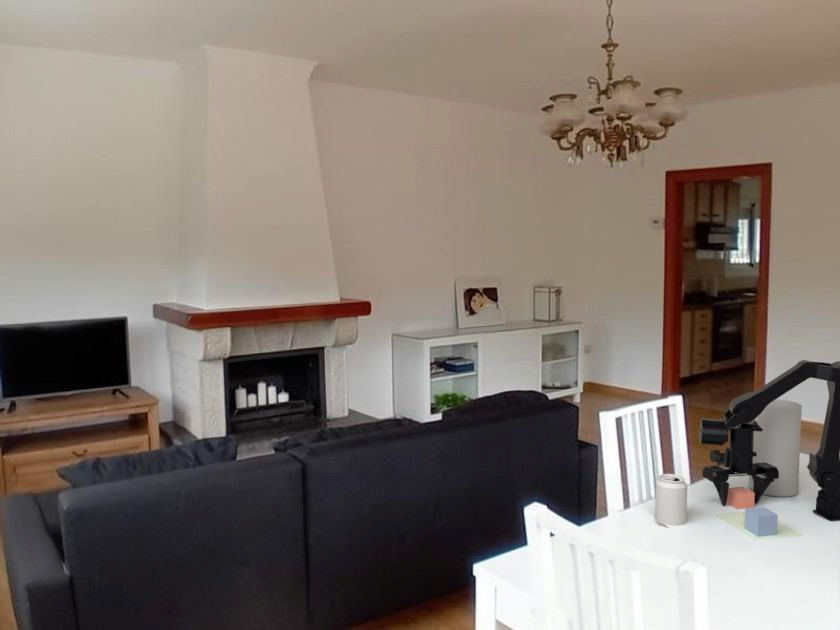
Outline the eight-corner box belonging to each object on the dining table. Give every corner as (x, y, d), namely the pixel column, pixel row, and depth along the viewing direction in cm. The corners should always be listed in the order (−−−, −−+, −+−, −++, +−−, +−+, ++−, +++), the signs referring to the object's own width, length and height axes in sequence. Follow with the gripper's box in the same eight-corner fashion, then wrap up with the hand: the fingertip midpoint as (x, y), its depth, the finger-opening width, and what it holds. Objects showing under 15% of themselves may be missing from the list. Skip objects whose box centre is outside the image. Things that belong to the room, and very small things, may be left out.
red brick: (742, 504, 187) (742, 486, 187) (753, 511, 182) (754, 493, 182) (724, 506, 186) (725, 488, 186) (736, 513, 181) (737, 494, 181)
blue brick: (763, 527, 169) (763, 507, 169) (776, 535, 164) (777, 514, 164) (744, 528, 168) (745, 508, 168) (757, 536, 164) (758, 516, 163)
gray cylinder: (746, 492, 196) (749, 405, 194) (751, 480, 207) (754, 397, 204) (796, 500, 189) (800, 410, 187) (799, 487, 200) (803, 401, 198)
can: (688, 530, 170) (690, 482, 169) (656, 528, 172) (657, 480, 171) (683, 519, 177) (684, 473, 176) (652, 517, 179) (653, 471, 178)
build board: (760, 514, 180) (760, 511, 180) (804, 539, 164) (804, 535, 164) (713, 518, 178) (714, 514, 177) (753, 544, 162) (754, 540, 162)
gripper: (754, 436, 192) (752, 491, 194) (691, 440, 189) (690, 496, 190) (781, 447, 181) (779, 505, 183) (715, 451, 178) (713, 510, 179)
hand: (739, 504), depth 184 cm, fingers open, 9 cm apart
